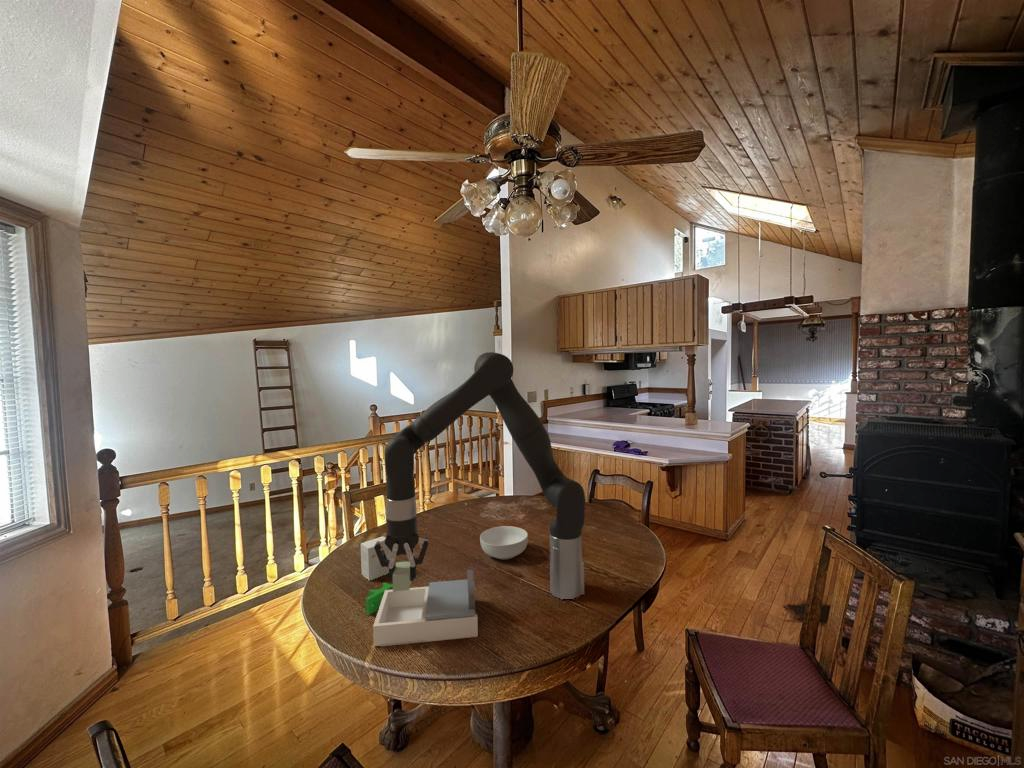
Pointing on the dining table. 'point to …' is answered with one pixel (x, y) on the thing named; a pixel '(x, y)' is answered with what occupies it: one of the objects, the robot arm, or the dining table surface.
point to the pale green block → (401, 576)
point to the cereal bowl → (504, 541)
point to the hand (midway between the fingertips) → (402, 580)
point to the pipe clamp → (376, 598)
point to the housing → (416, 620)
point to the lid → (451, 598)
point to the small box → (373, 560)
